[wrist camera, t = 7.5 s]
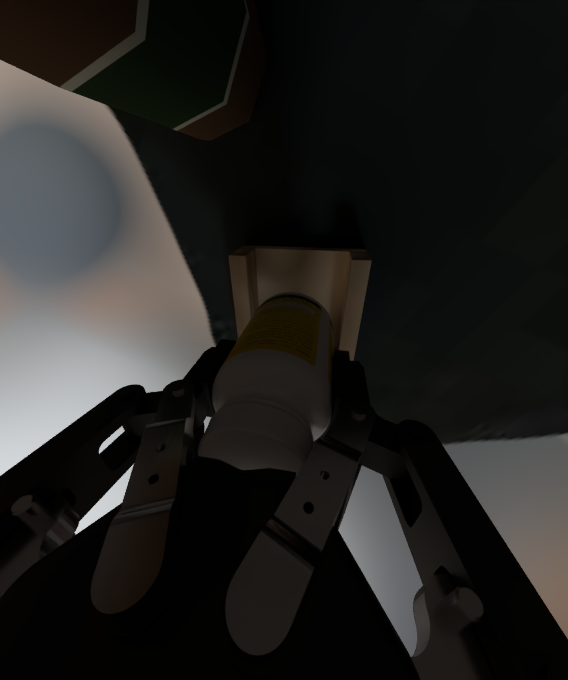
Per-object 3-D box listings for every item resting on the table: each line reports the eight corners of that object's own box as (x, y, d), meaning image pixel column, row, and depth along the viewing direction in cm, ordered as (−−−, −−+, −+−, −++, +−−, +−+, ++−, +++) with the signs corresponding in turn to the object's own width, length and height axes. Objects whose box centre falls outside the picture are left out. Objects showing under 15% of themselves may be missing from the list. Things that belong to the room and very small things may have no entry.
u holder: (365, 249, 18) (371, 260, 15) (348, 352, 23) (350, 376, 20) (244, 245, 20) (228, 255, 17) (252, 344, 25) (241, 365, 22)
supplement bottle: (237, 316, 17) (145, 440, 8) (304, 273, 14) (265, 386, 6) (283, 371, 19) (244, 517, 10) (348, 341, 16) (365, 497, 8)
